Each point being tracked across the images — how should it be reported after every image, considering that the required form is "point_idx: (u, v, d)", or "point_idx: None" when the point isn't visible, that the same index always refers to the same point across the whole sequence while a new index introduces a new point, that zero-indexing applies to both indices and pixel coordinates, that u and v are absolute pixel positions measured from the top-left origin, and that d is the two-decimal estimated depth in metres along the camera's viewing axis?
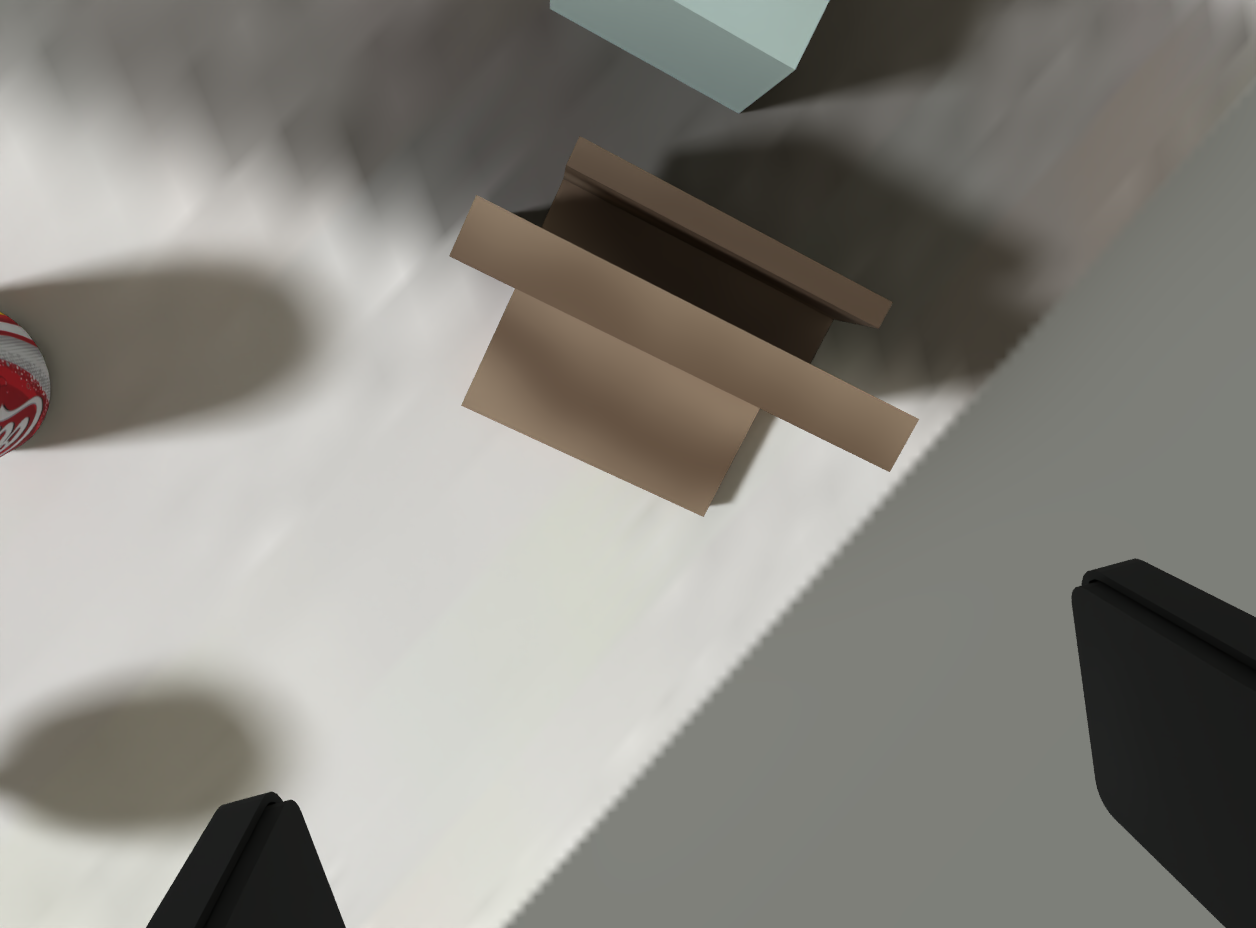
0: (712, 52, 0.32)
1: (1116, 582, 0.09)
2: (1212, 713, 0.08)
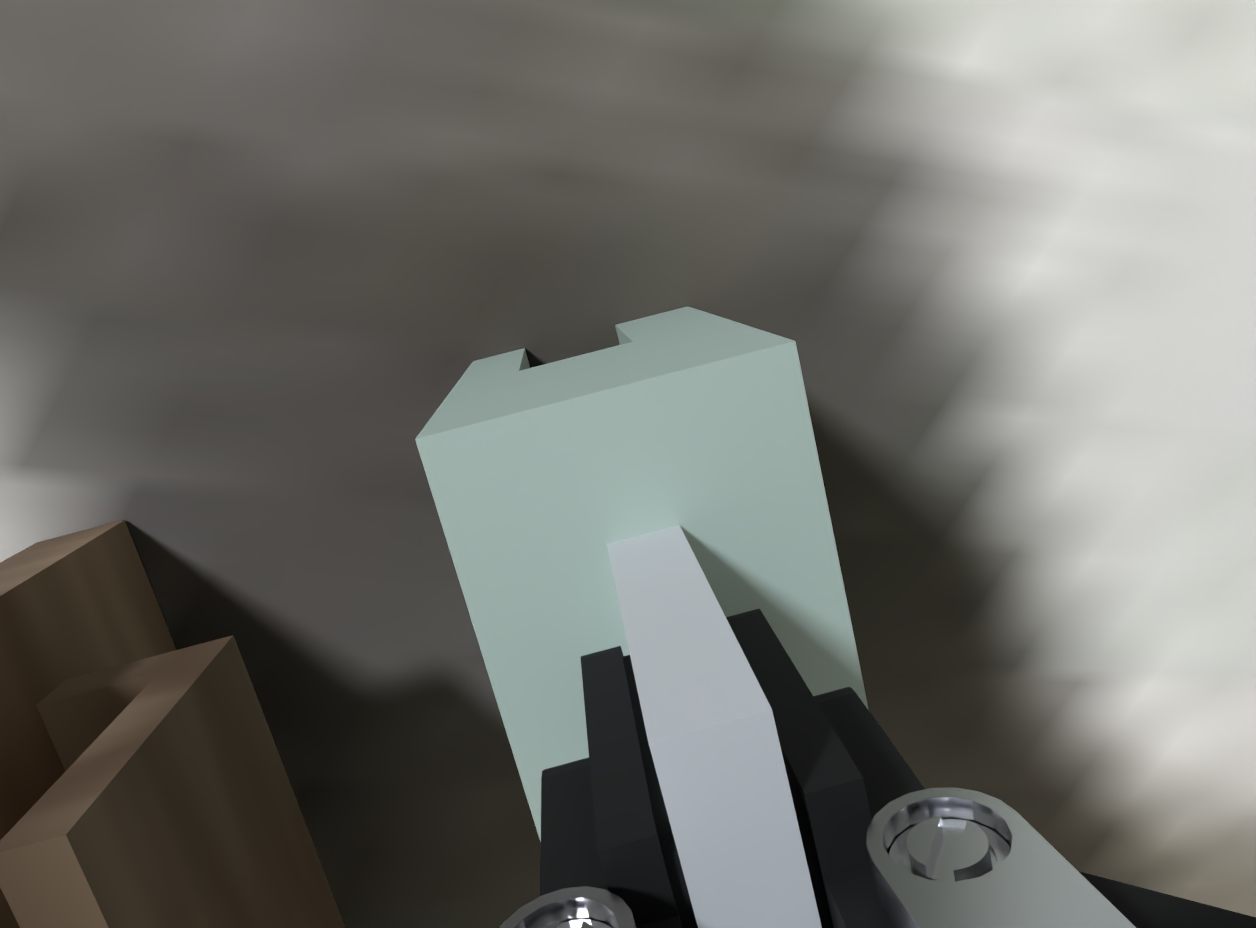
0: None
1: None
2: None
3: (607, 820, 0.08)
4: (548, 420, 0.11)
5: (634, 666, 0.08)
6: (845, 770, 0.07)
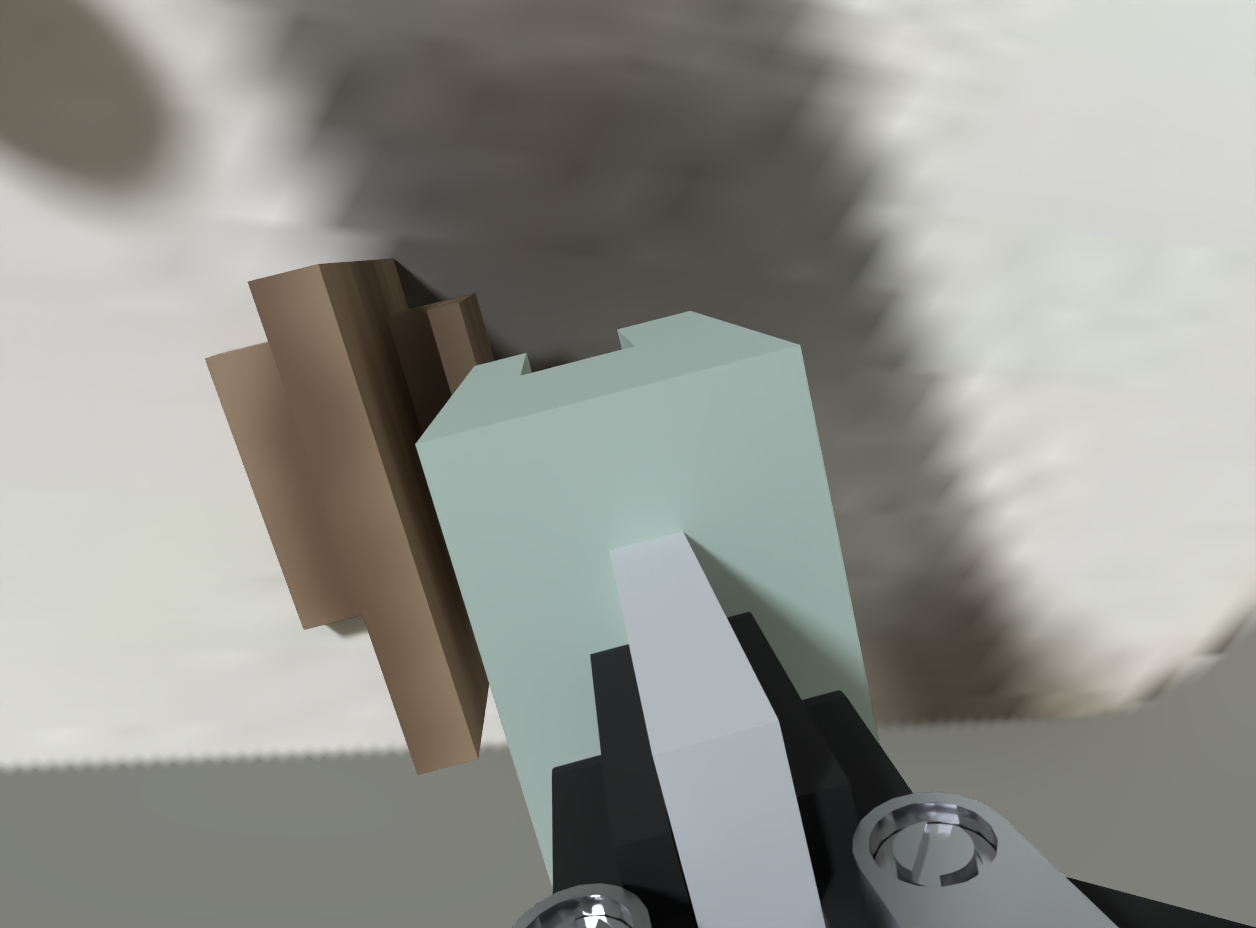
0: None
1: None
2: None
3: (620, 817, 0.08)
4: (550, 425, 0.11)
5: (637, 675, 0.08)
6: (832, 774, 0.07)
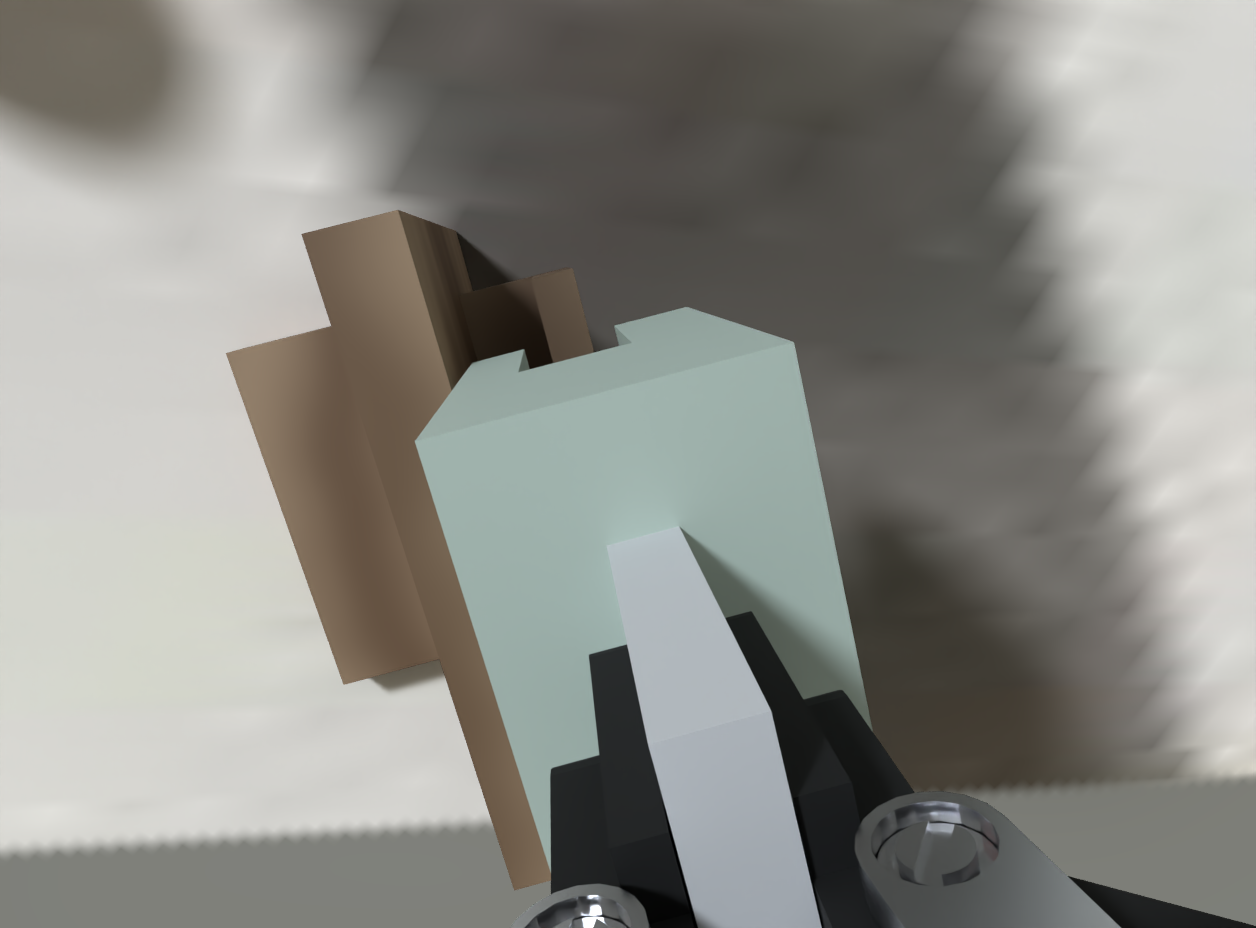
0: None
1: None
2: None
3: (619, 818, 0.08)
4: (547, 422, 0.11)
5: (634, 667, 0.08)
6: (834, 774, 0.07)
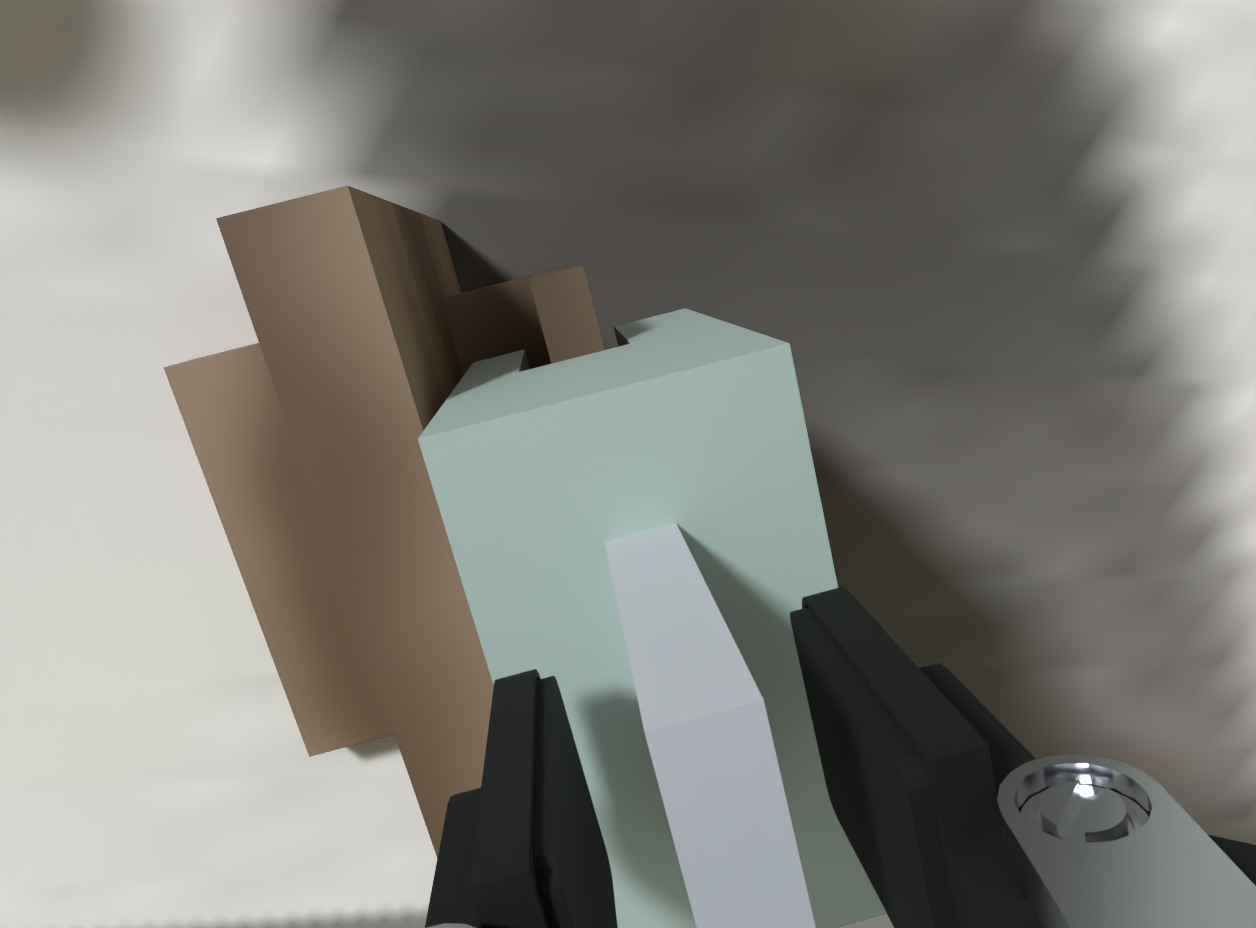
0: None
1: (815, 608, 0.11)
2: (851, 727, 0.09)
3: (485, 855, 0.08)
4: (547, 421, 0.12)
5: (631, 659, 0.08)
6: (967, 737, 0.07)
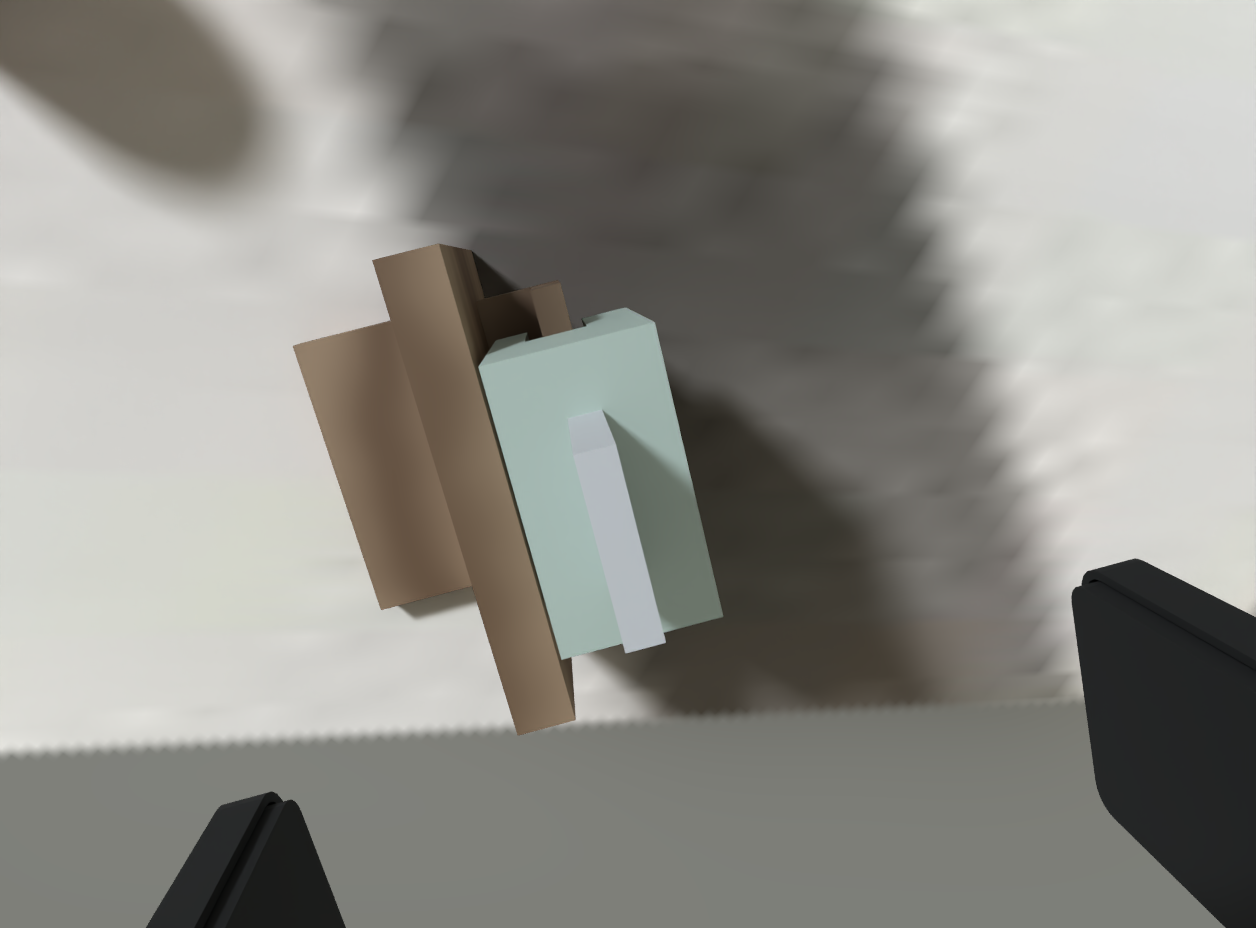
0: None
1: (1116, 582, 0.09)
2: (1212, 713, 0.08)
3: None
4: (539, 358, 0.24)
5: (571, 443, 0.21)
6: None
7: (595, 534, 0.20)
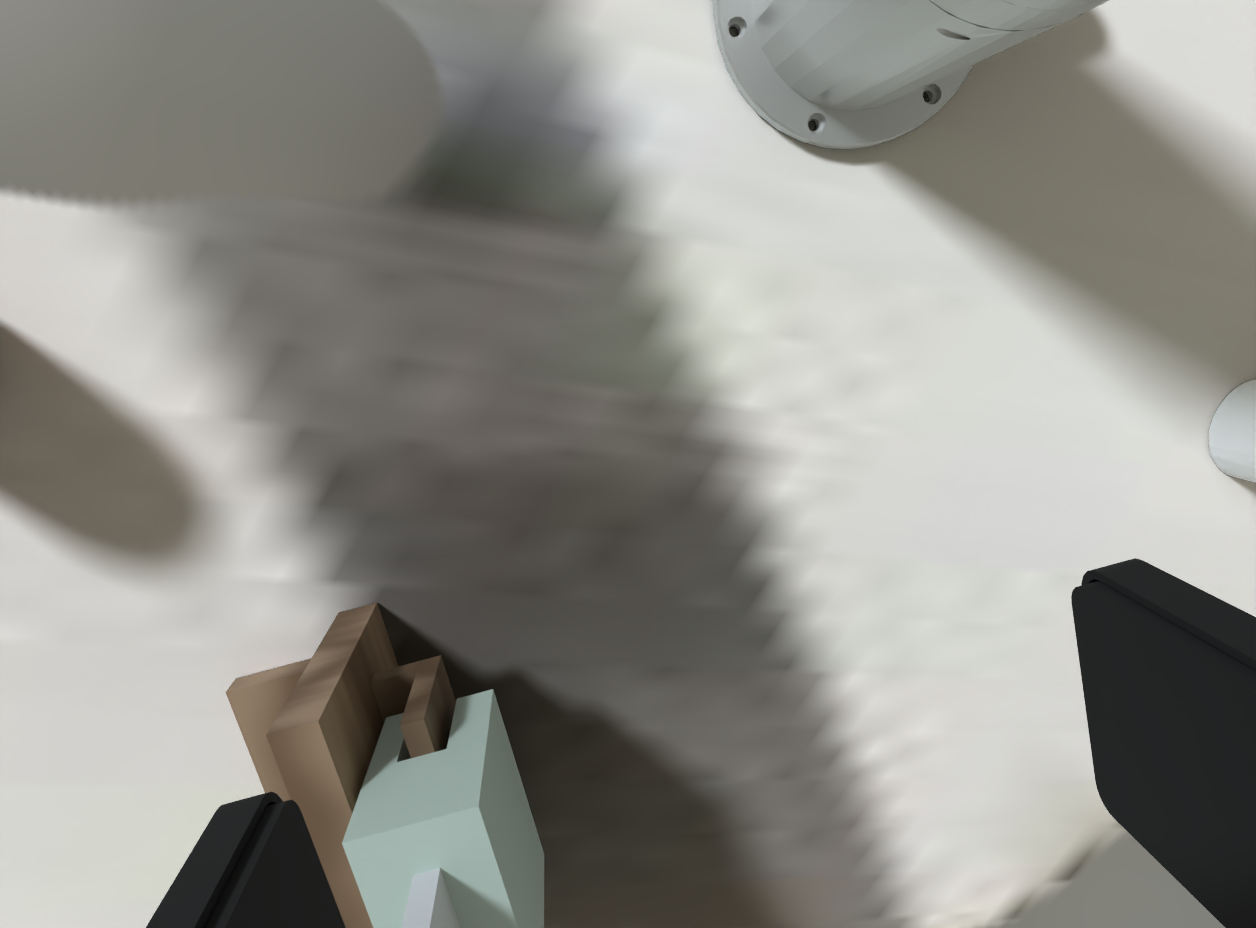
0: None
1: (1116, 582, 0.09)
2: (1212, 713, 0.08)
3: None
4: (389, 835, 0.32)
5: None
6: None
7: None
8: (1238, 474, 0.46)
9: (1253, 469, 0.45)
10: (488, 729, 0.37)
